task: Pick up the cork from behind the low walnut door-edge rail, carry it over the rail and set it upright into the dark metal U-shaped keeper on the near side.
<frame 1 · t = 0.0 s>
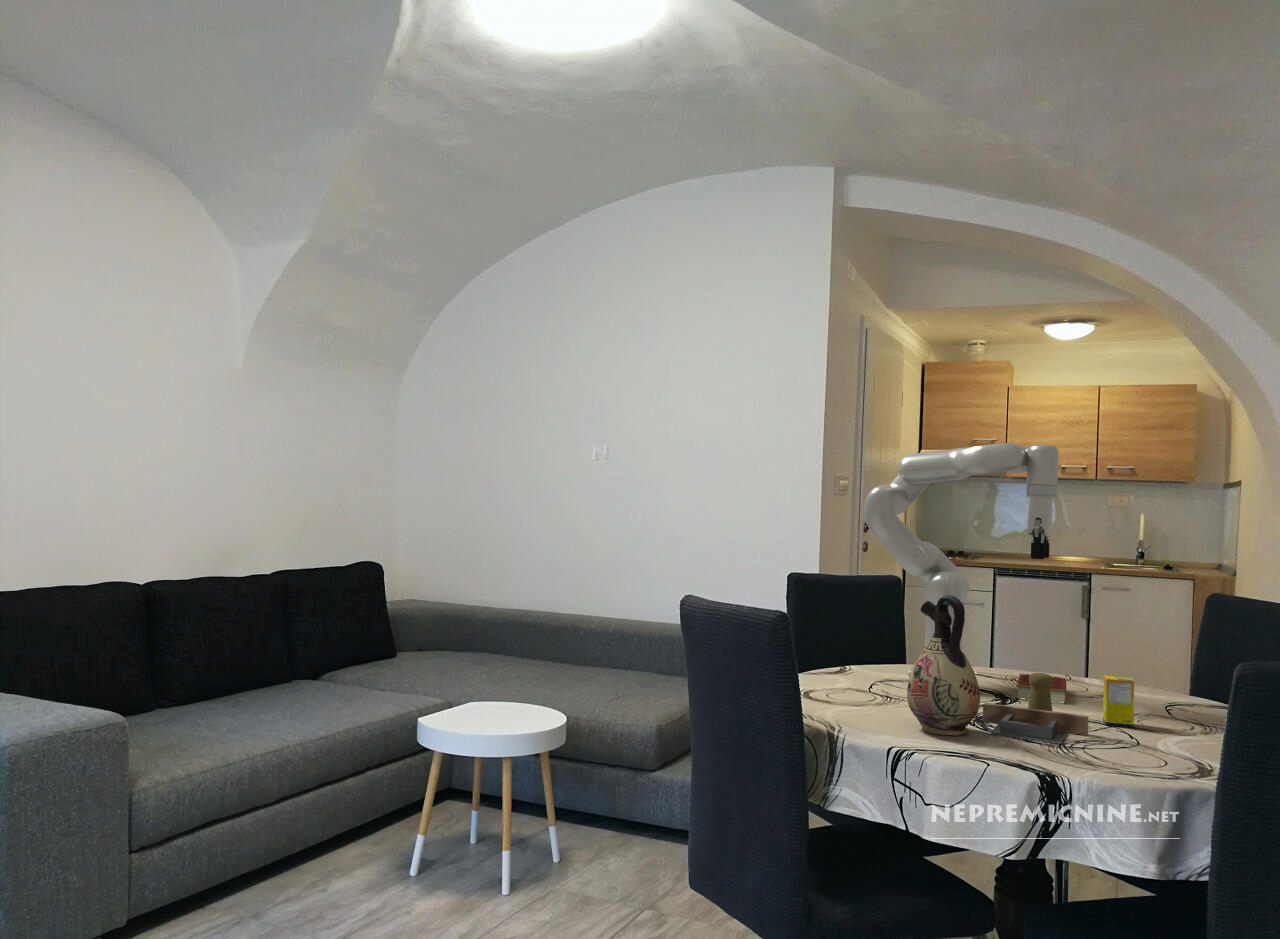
hand: (1040, 558, 257), 37 cm above the table, tool pointing down, fingers open, 9 cm apart
door edge rail: (1034, 727, 223), on the table
cork: (1039, 721, 231), on the table
ceramic jug: (944, 733, 215), on the table
supplement box: (1117, 725, 230), on the table
keeper: (1029, 734, 216), on the table
hardcover book: (1041, 697, 264), on the table
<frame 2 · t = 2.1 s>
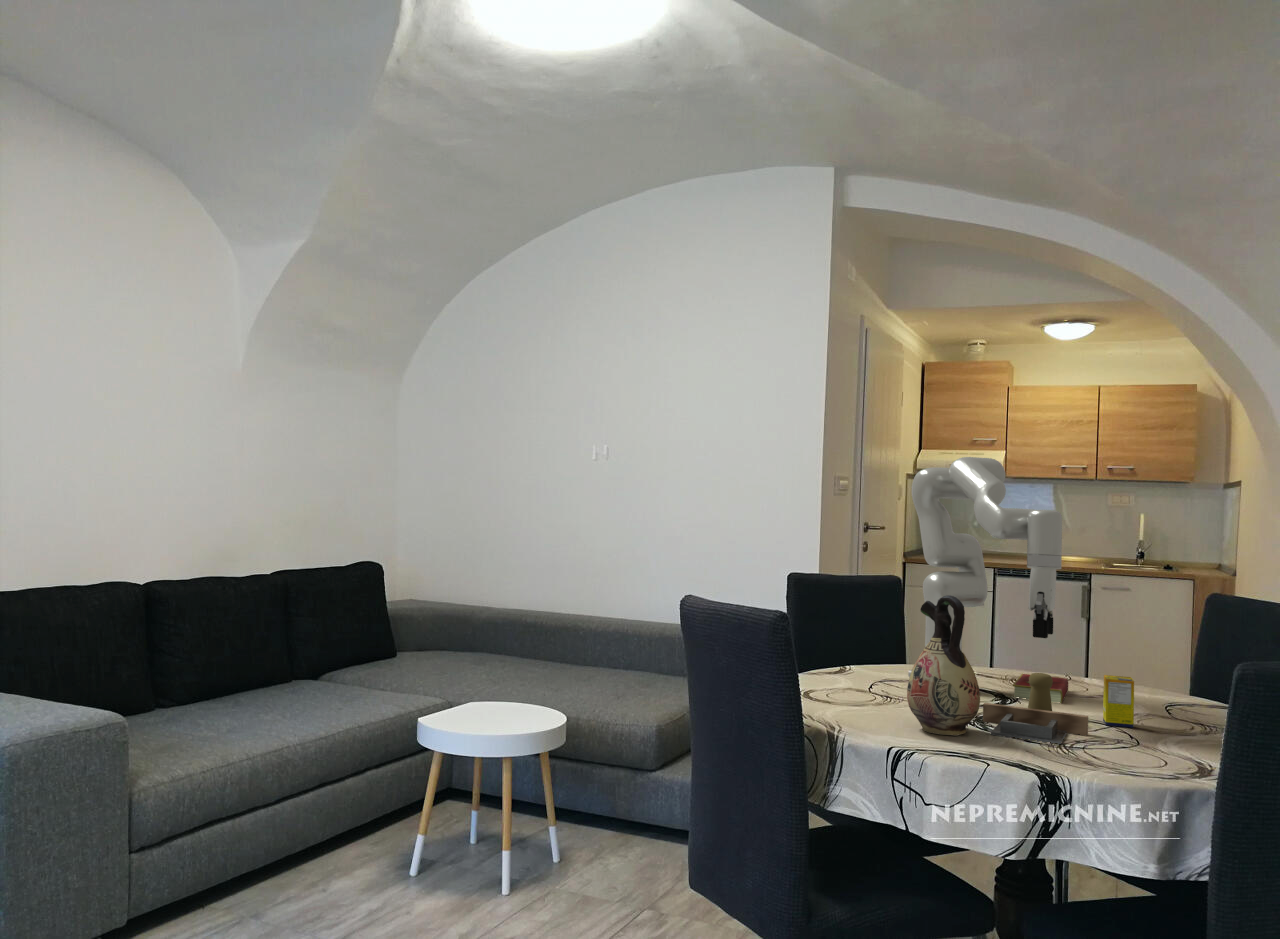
hand: (1043, 635, 231), 20 cm above the table, tool pointing down, fingers open, 9 cm apart
nothing on the table moved.
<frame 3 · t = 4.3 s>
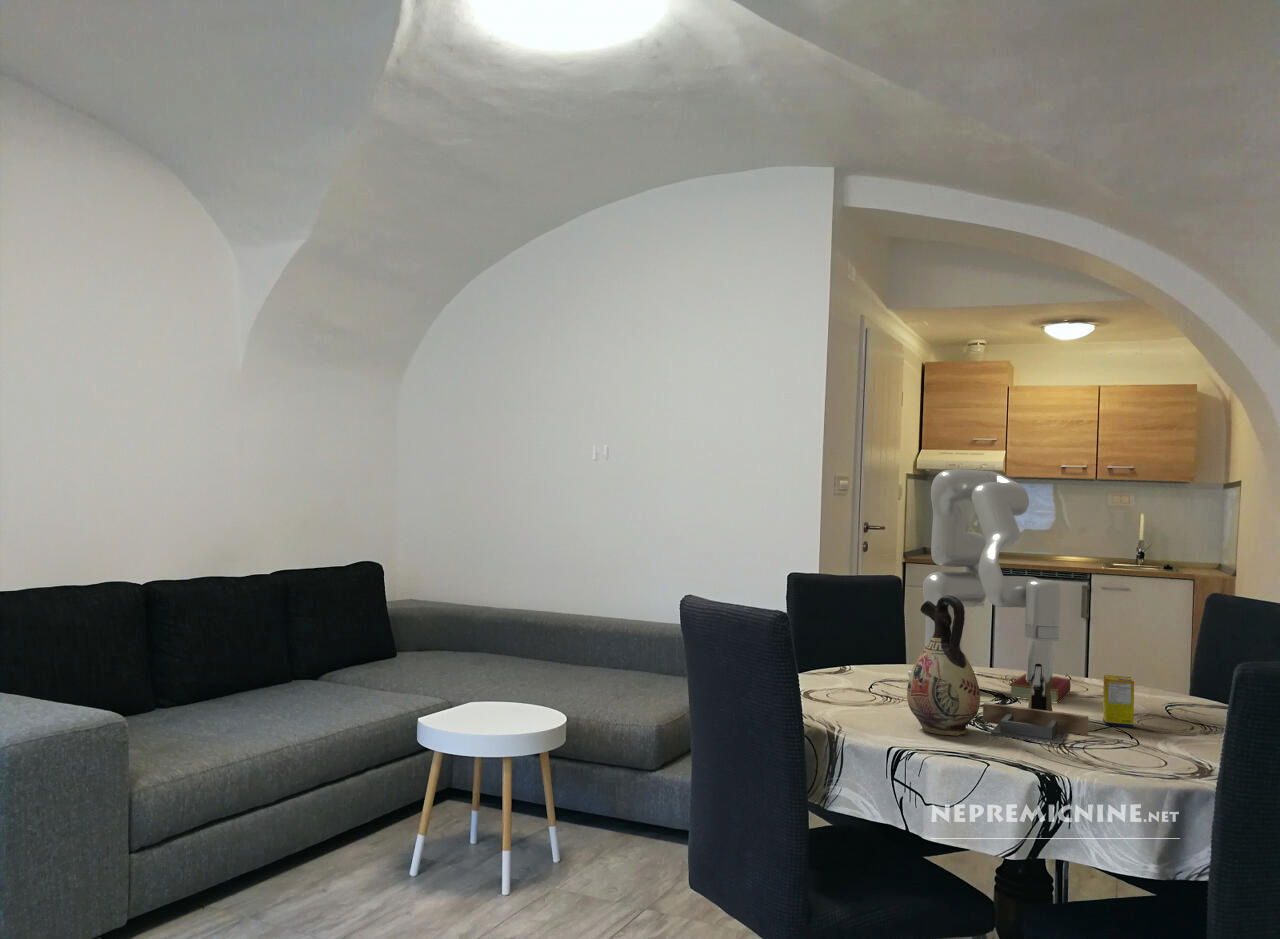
hand: (1040, 710, 231), 2 cm above the table, tool pointing down, fingers closed on cork, 4 cm apart
cork: (1039, 721, 231), on the table, touching gripper
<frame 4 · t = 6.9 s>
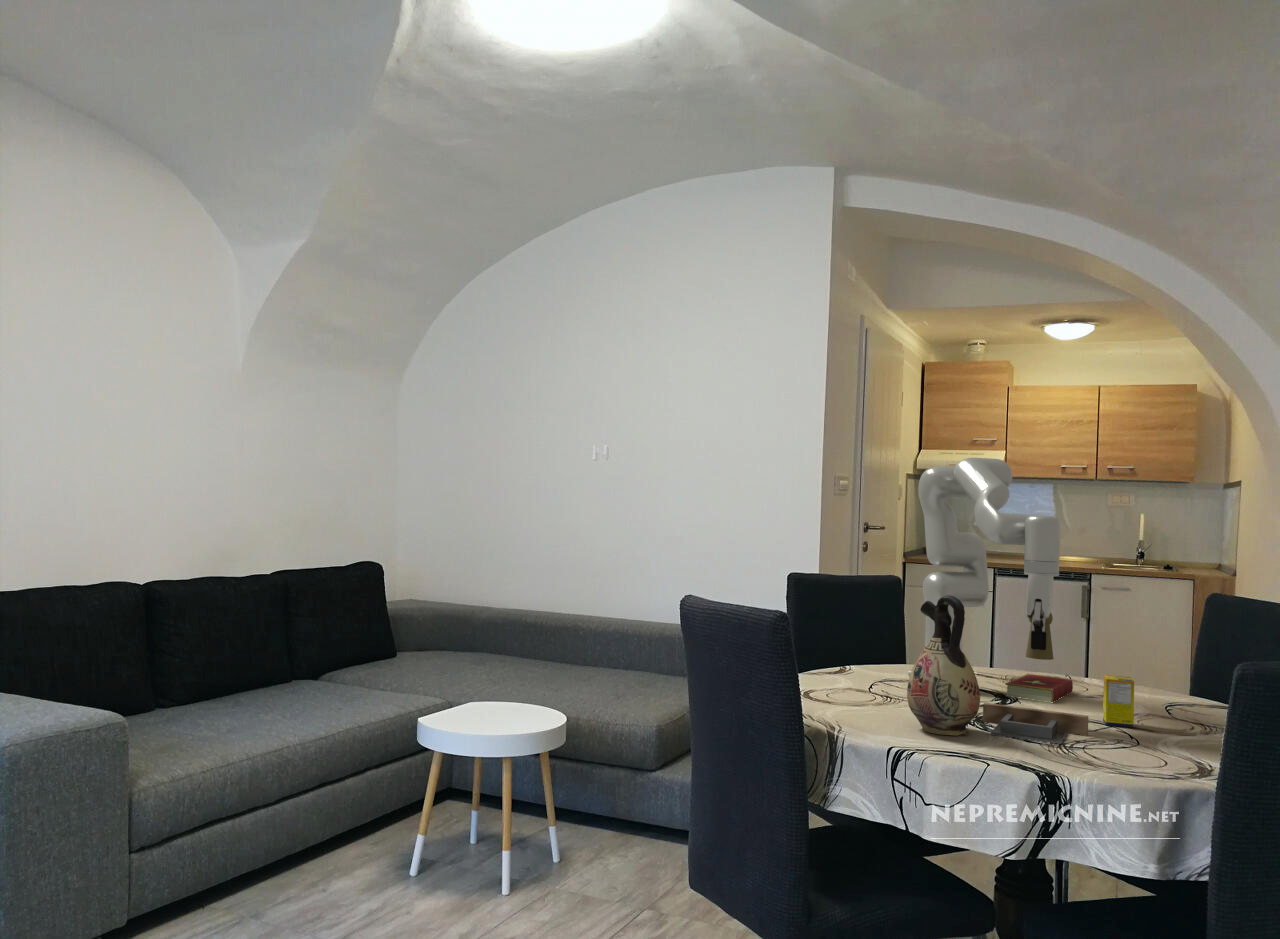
hand: (1039, 647, 228), 17 cm above the table, tool pointing down, fingers closed on cork, 4 cm apart
cork: (1039, 658, 228), point 15 cm above the table, touching gripper
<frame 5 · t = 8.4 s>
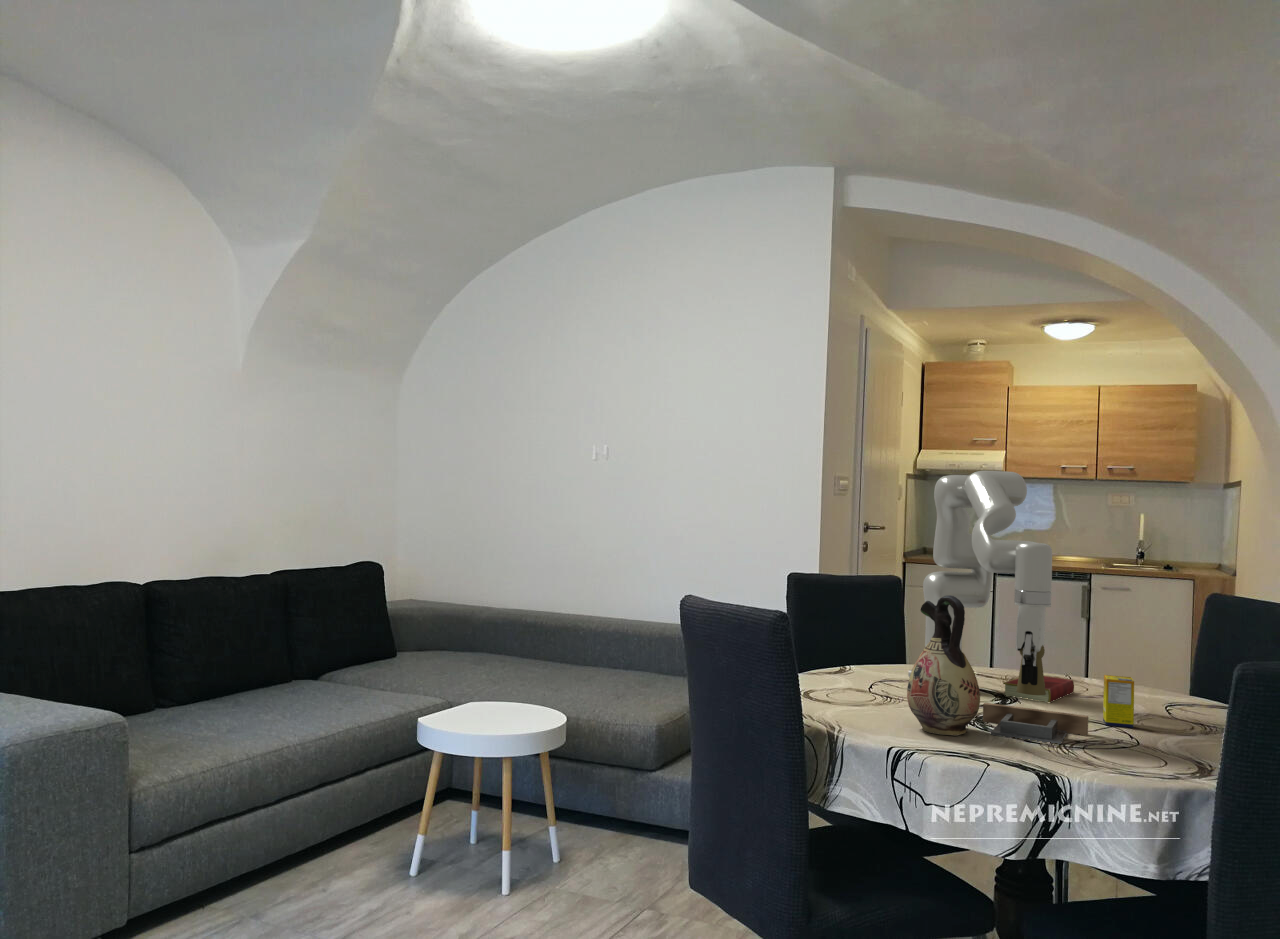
hand: (1030, 682, 216), 11 cm above the table, tool pointing down, fingers closed on cork, 4 cm apart
cork: (1030, 693, 216), point 9 cm above the table, touching gripper
when the fingers open (4 cm above the table, at t = 9.7 s): cork drops 1 cm, resting on keeper.
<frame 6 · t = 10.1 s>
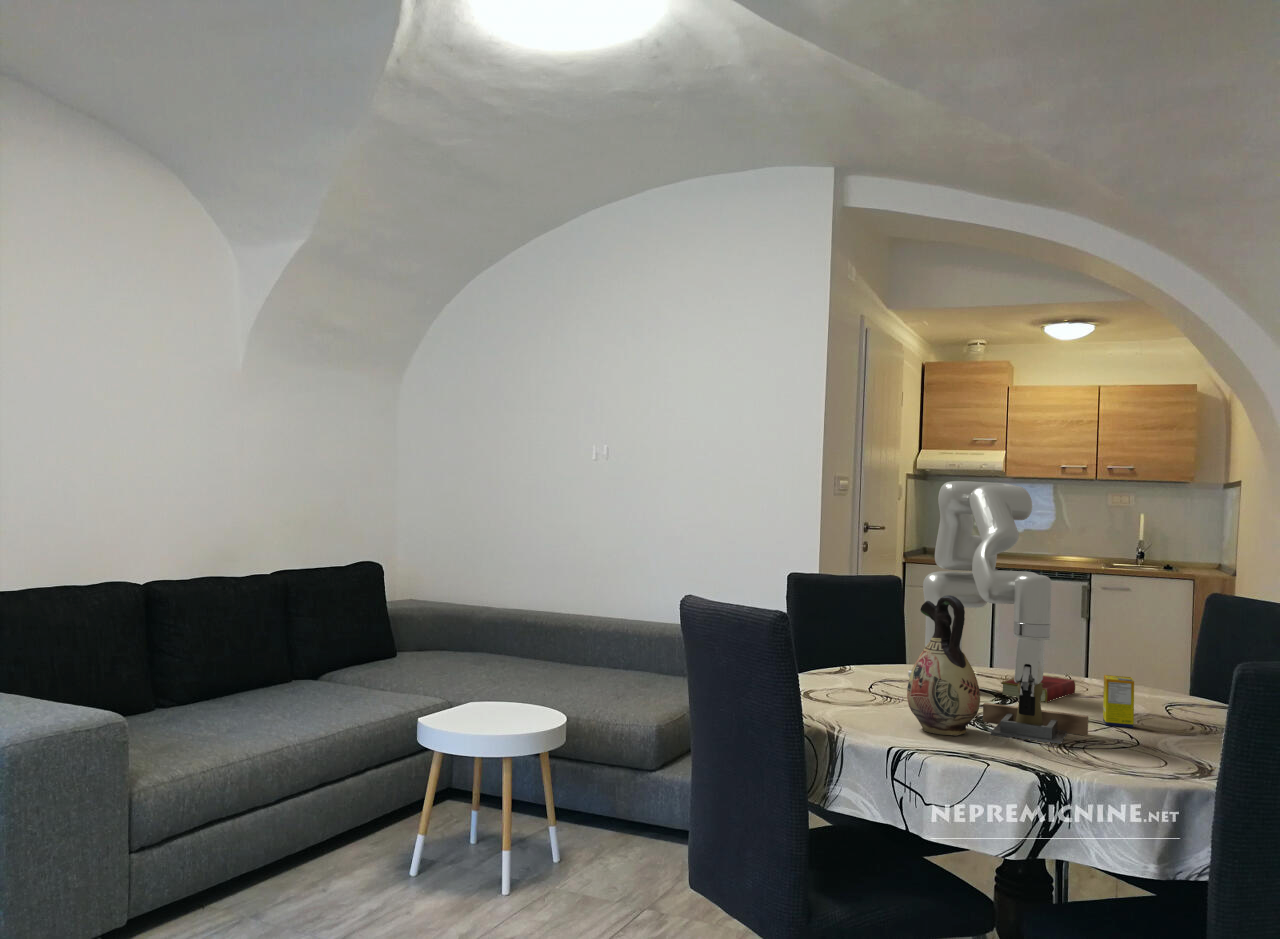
hand: (1029, 711, 216), 5 cm above the table, tool pointing down, fingers open, 8 cm apart
cork: (1028, 732, 216), resting on keeper
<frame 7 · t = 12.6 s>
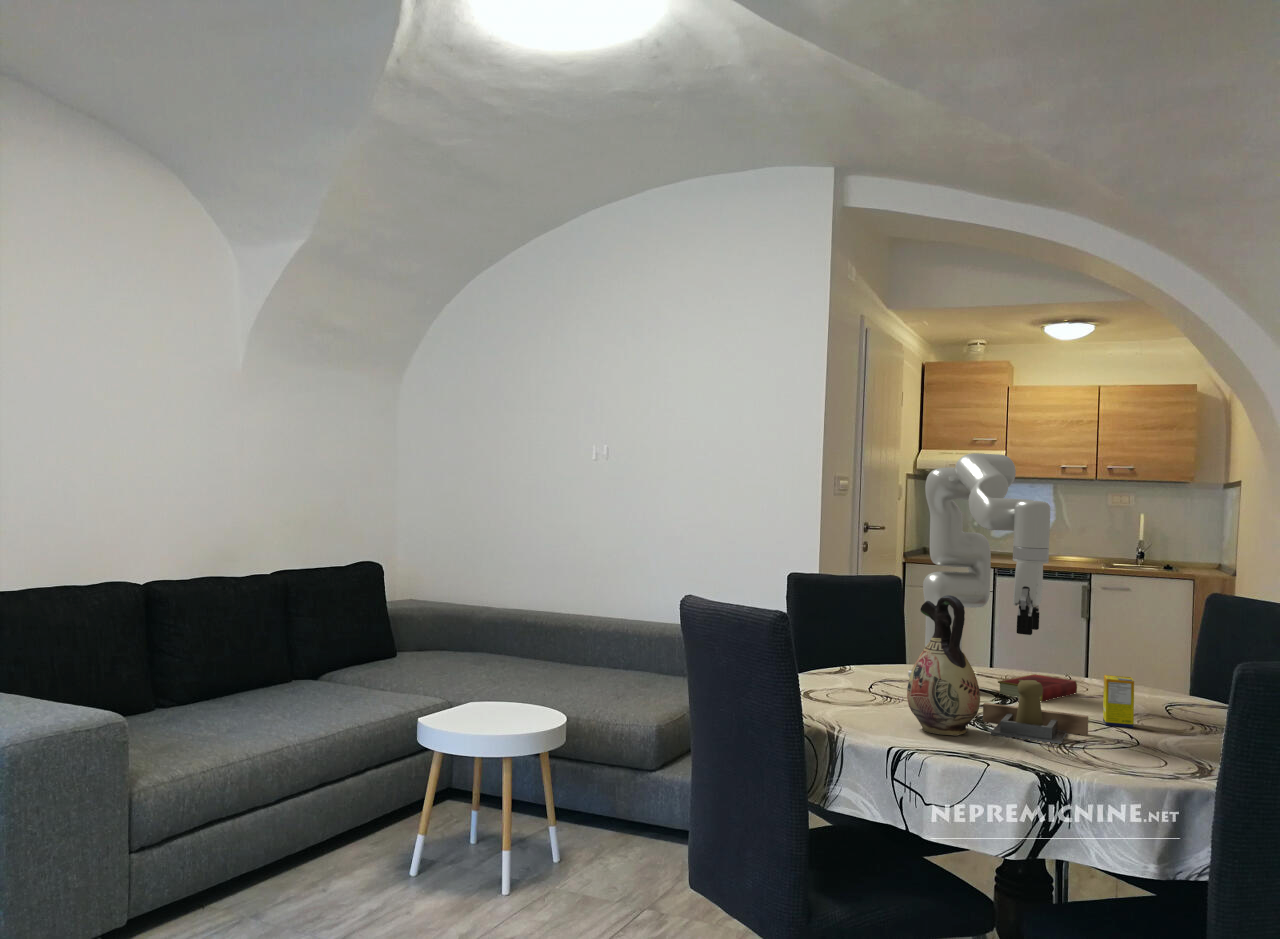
hand: (1027, 631, 222), 22 cm above the table, tool pointing down, fingers open, 9 cm apart
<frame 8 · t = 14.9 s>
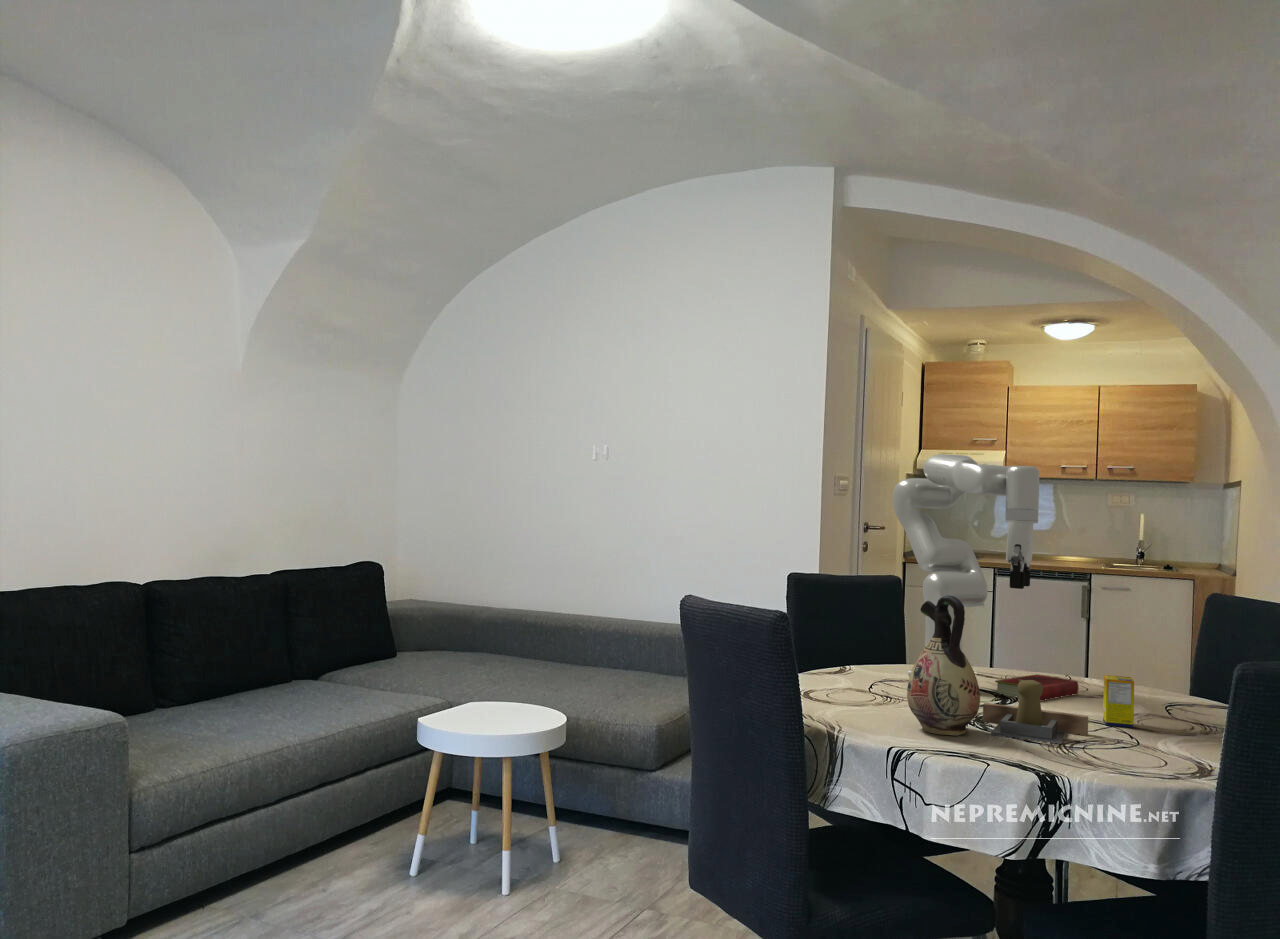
hand: (1019, 587, 240), 30 cm above the table, tool pointing down, fingers open, 9 cm apart
at the end: cork 0.1 cm off-centre on the keeper, point 0.4 cm above the keeper's base; cork tilted 0°; the gripper is holding nothing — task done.
